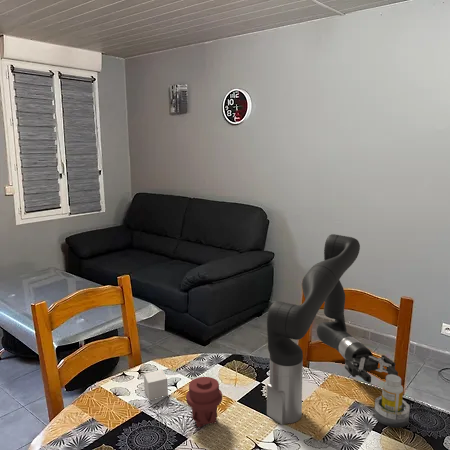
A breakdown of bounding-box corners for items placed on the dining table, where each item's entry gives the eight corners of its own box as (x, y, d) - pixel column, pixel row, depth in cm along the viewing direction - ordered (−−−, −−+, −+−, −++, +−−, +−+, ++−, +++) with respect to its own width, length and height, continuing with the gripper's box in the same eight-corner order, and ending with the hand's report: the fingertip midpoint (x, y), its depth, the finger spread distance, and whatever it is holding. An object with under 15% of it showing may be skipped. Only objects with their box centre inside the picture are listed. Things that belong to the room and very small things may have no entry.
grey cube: (149, 401, 129) (148, 383, 128) (144, 391, 134) (143, 373, 133) (168, 396, 131) (167, 378, 130) (162, 386, 137) (161, 369, 136)
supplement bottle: (386, 415, 116) (388, 383, 114) (378, 404, 121) (379, 373, 120) (405, 414, 116) (407, 382, 115) (395, 403, 122) (397, 372, 120)
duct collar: (397, 432, 113) (398, 418, 112) (368, 416, 120) (368, 403, 119) (414, 419, 118) (415, 406, 118) (385, 404, 125) (386, 391, 125)
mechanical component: (193, 436, 112) (182, 415, 121) (228, 426, 116) (214, 406, 125) (192, 394, 110) (181, 376, 119) (227, 385, 114) (213, 368, 123)
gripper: (335, 344, 135) (361, 369, 120) (374, 339, 138) (406, 363, 123) (334, 365, 137) (360, 393, 121) (373, 360, 140) (404, 386, 124)
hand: (383, 378), depth 122 cm, fingers open, 8 cm apart
